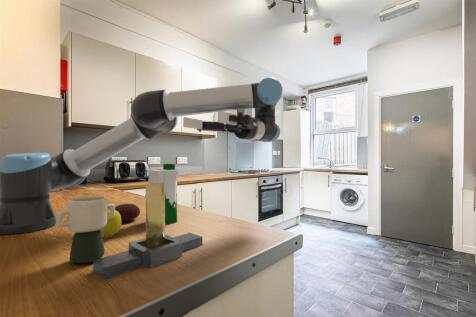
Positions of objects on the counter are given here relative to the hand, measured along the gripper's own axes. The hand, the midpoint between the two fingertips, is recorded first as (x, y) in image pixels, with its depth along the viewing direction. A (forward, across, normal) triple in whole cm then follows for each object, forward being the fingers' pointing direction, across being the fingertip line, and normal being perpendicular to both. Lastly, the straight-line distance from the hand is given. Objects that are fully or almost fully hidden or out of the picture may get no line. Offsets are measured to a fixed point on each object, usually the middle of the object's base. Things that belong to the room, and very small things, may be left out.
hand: (200, 119), depth 62 cm
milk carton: (-5, +25, -32) cm, 41 cm away
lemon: (+14, +21, -32) cm, 41 cm away
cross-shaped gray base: (+13, 0, -32) cm, 34 cm away
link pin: (+13, 0, -32) cm, 34 cm away
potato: (+3, +35, -32) cm, 48 cm away
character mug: (+23, +9, -32) cm, 41 cm away
